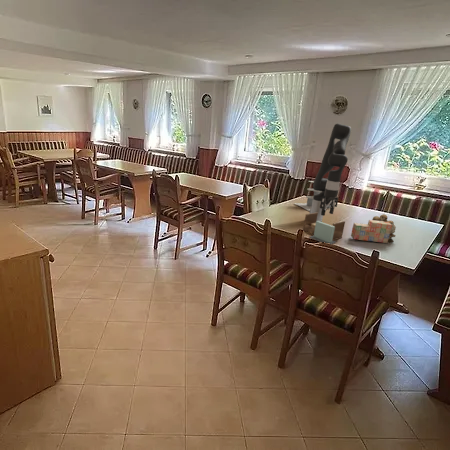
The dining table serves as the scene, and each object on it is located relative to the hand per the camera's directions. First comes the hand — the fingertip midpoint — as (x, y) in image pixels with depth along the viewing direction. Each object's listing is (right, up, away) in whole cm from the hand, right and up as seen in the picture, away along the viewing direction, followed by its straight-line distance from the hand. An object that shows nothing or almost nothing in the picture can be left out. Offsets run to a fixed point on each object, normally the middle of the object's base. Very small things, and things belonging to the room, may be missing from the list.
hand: (326, 214), depth 200 cm
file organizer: (+21, +9, +92) cm, 95 cm away
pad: (-1, -16, +5) cm, 17 cm away
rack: (+2, -12, +18) cm, 22 cm away
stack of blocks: (+30, -16, +11) cm, 36 cm away
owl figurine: (+39, -16, +17) cm, 45 cm away
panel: (-1, -15, +5) cm, 16 cm away
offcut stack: (+1, -11, +16) cm, 20 cm away
